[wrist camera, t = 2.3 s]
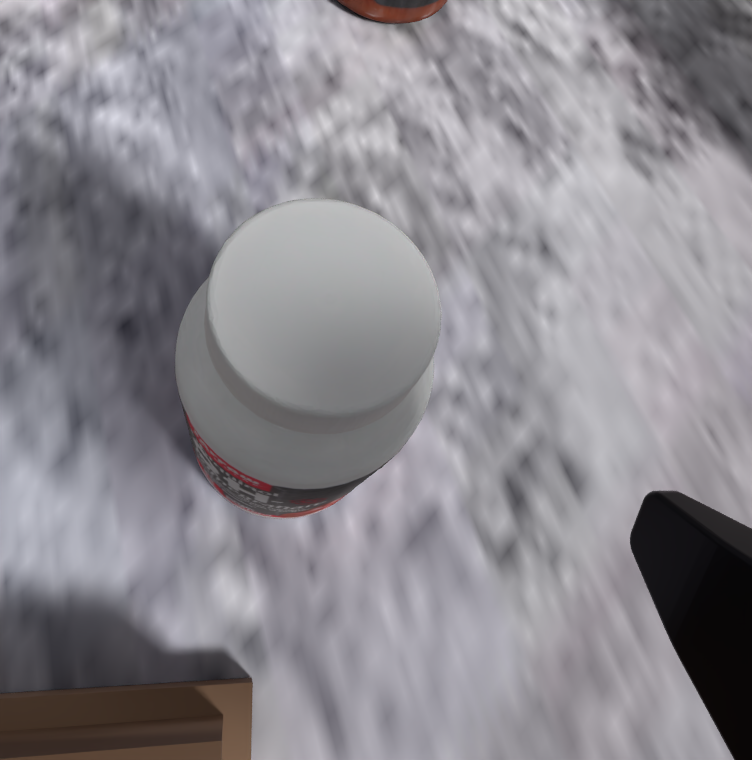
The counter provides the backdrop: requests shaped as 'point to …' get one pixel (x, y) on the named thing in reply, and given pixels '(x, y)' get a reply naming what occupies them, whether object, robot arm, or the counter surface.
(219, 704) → the socket block
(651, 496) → the robot arm
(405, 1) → the supplement bottle
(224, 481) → the pill bottle
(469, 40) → the counter surface
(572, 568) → the counter surface
